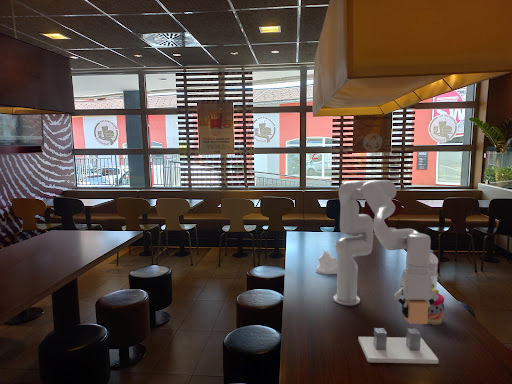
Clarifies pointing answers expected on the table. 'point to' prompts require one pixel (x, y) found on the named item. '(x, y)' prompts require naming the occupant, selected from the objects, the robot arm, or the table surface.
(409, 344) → the post
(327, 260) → the soft serve ice cream
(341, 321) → the table surface
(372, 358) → the board
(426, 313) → the block
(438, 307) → the cake
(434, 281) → the water bottle
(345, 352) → the table surface
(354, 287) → the robot arm
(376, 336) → the post
